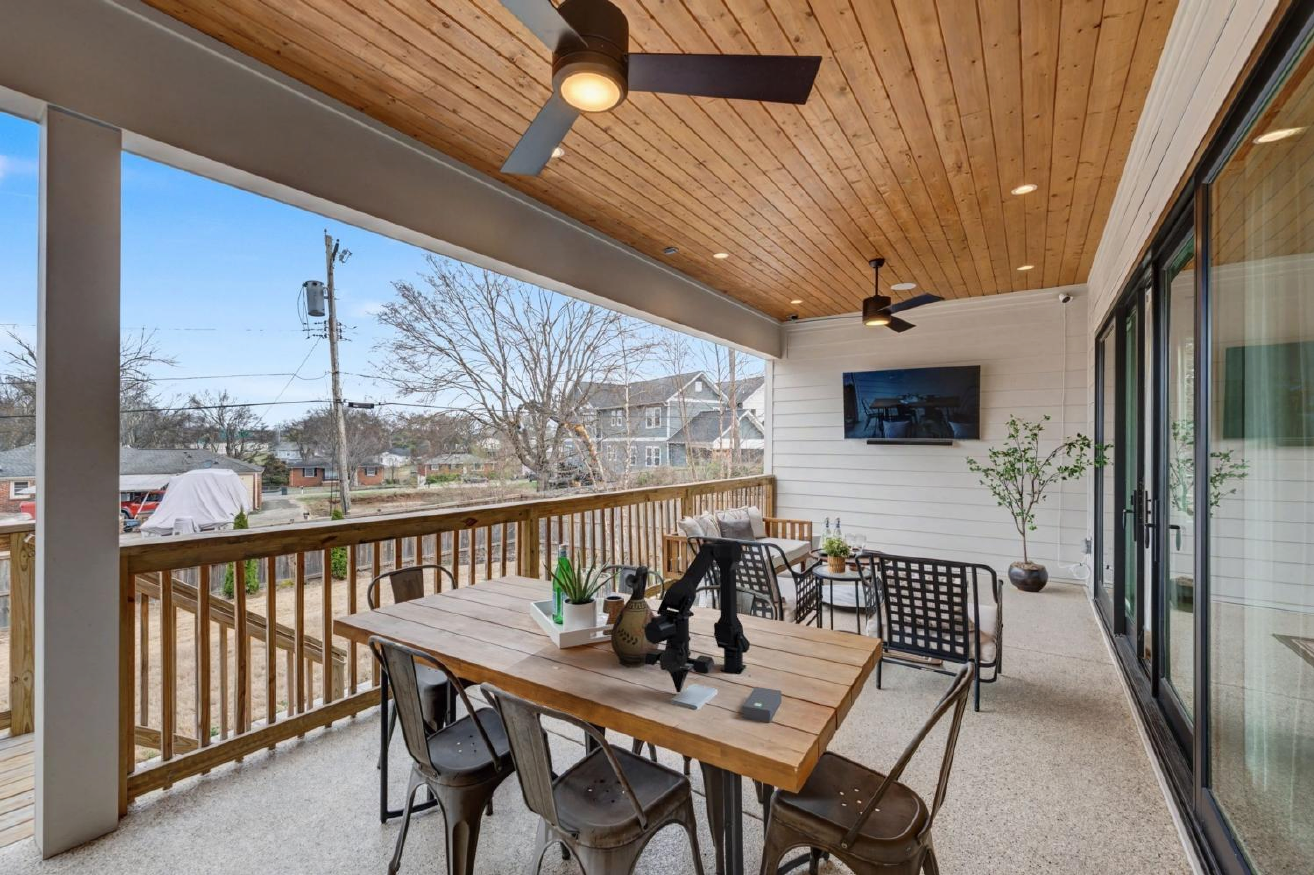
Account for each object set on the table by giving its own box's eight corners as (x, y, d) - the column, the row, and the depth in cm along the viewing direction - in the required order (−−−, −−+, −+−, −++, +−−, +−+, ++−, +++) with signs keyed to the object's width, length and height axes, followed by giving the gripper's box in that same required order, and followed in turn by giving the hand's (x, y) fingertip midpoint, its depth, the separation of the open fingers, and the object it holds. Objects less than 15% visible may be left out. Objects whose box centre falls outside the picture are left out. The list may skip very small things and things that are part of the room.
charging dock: (750, 696, 161) (750, 685, 161) (781, 702, 157) (781, 690, 157) (736, 716, 149) (736, 704, 149) (770, 723, 145) (769, 710, 145)
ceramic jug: (649, 674, 177) (649, 574, 177) (603, 668, 182) (602, 570, 183) (668, 655, 193) (668, 563, 193) (625, 650, 198) (624, 560, 199)
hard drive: (697, 706, 153) (717, 688, 163) (669, 699, 157) (691, 682, 168) (697, 712, 153) (717, 694, 163) (669, 705, 157) (691, 688, 168)
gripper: (635, 639, 159) (635, 697, 159) (700, 648, 151) (700, 709, 151) (652, 627, 169) (652, 682, 169) (714, 635, 161) (714, 693, 161)
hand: (678, 691), depth 162 cm, fingers closed
